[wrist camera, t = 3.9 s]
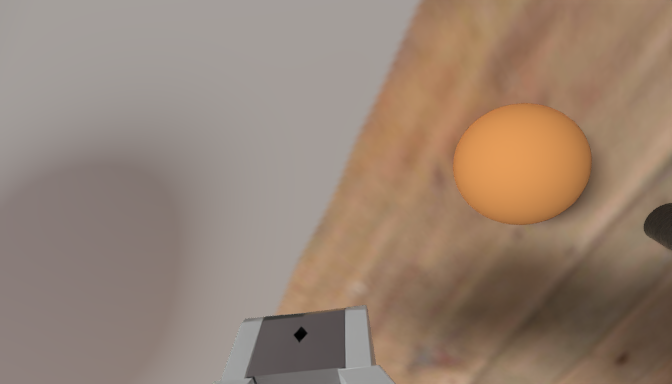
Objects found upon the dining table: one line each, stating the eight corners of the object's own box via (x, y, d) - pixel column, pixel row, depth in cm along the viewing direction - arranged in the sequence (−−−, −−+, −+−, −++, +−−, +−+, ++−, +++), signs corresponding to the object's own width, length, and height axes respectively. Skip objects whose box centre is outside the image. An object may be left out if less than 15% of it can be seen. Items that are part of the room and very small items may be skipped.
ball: (540, 188, 20) (614, 239, 15) (441, 201, 21) (478, 256, 15) (548, 87, 18) (640, 103, 12) (437, 105, 18) (478, 128, 13)
